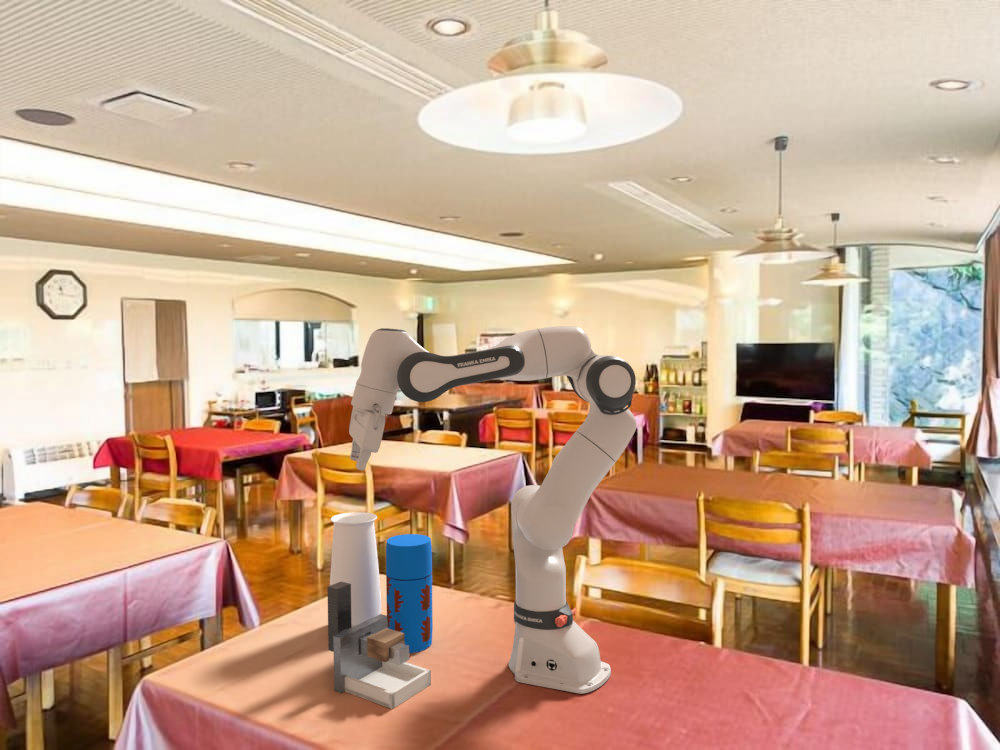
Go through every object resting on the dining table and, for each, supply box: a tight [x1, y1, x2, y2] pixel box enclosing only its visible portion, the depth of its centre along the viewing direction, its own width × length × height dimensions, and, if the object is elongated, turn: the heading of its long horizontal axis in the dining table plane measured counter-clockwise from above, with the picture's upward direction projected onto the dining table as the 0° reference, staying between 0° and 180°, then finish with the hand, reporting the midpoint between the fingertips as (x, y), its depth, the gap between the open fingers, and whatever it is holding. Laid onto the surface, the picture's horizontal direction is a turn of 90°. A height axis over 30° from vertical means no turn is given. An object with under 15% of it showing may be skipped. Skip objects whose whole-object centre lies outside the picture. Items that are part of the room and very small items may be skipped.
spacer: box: [367, 628, 404, 662], centre depth 146 cm, size 5×6×4 cm
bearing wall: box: [333, 613, 388, 694], centre depth 150 cm, size 2×14×12 cm, turn 147°
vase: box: [329, 511, 382, 628], centre depth 177 cm, size 13×13×28 cm
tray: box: [344, 661, 432, 710], centre depth 146 cm, size 13×12×3 cm
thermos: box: [385, 533, 434, 654], centre depth 167 cm, size 11×11×25 cm
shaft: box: [326, 582, 410, 665], centre depth 149 cm, size 20×4×14 cm, turn 56°
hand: (356, 464), depth 150 cm, fingers open, 8 cm apart
